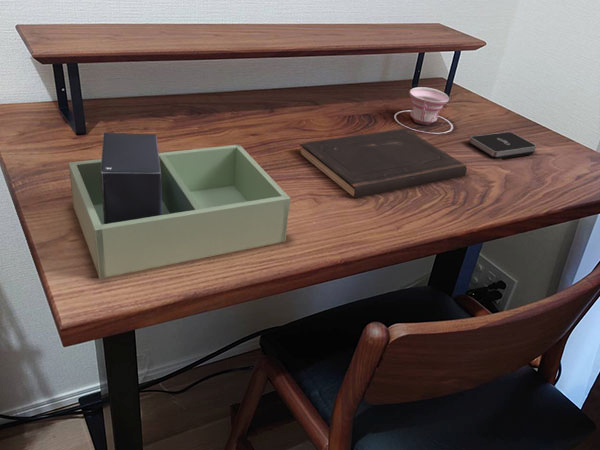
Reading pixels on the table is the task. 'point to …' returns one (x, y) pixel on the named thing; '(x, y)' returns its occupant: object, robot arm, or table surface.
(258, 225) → the caddy
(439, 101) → the teacup
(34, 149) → the table surface
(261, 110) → the table surface
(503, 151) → the external hard drive
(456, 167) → the hardcover book
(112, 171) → the small box
